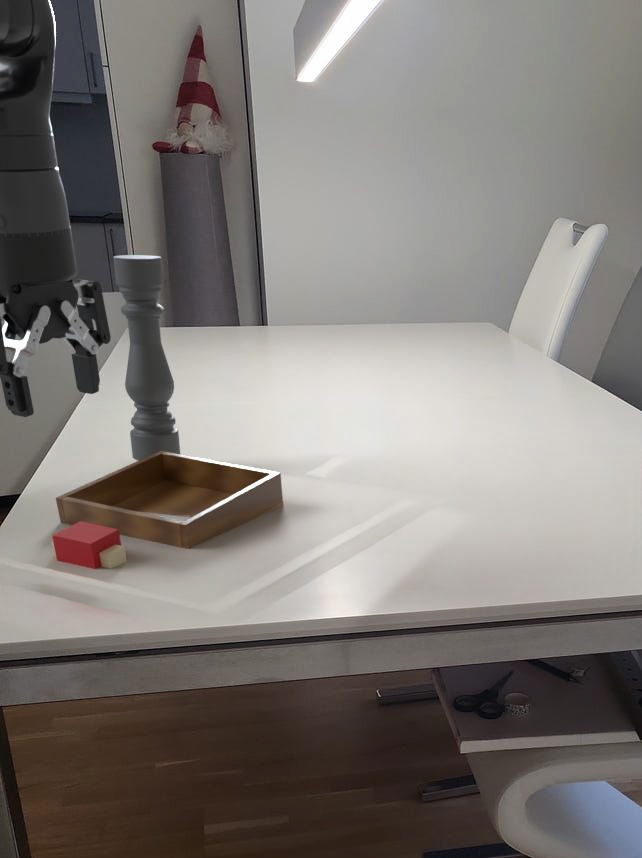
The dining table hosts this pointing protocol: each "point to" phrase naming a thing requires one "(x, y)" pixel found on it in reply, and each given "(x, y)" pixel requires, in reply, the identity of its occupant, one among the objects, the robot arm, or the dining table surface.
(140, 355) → the candle holder
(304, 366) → the dining table surface
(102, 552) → the red and beige block
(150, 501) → the wooden tray
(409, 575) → the dining table surface
